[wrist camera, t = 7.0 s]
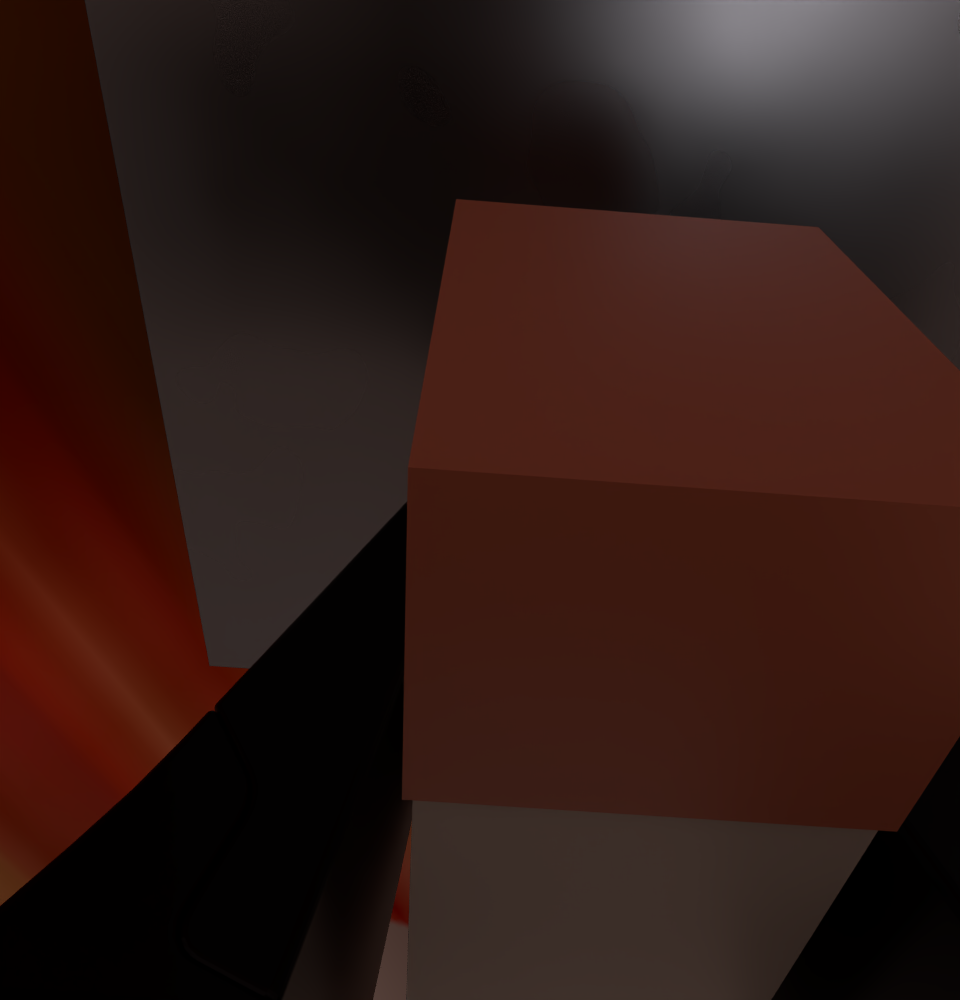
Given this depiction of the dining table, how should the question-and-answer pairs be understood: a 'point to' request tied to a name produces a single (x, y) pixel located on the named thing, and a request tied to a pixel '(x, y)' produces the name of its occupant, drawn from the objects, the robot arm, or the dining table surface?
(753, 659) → the orange and white block
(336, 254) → the grey board
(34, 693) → the dining table surface
